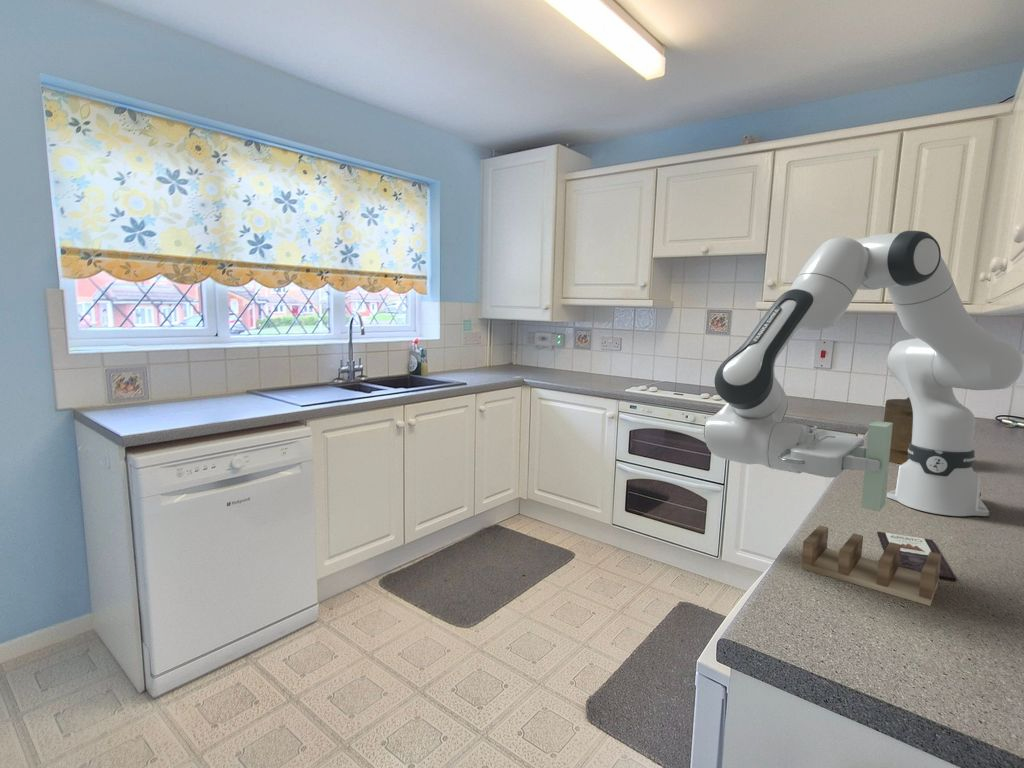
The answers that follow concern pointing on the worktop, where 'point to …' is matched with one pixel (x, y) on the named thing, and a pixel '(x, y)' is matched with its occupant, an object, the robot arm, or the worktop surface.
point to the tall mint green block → (881, 450)
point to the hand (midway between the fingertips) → (884, 461)
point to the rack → (871, 567)
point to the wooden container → (899, 428)
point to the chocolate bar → (915, 553)
